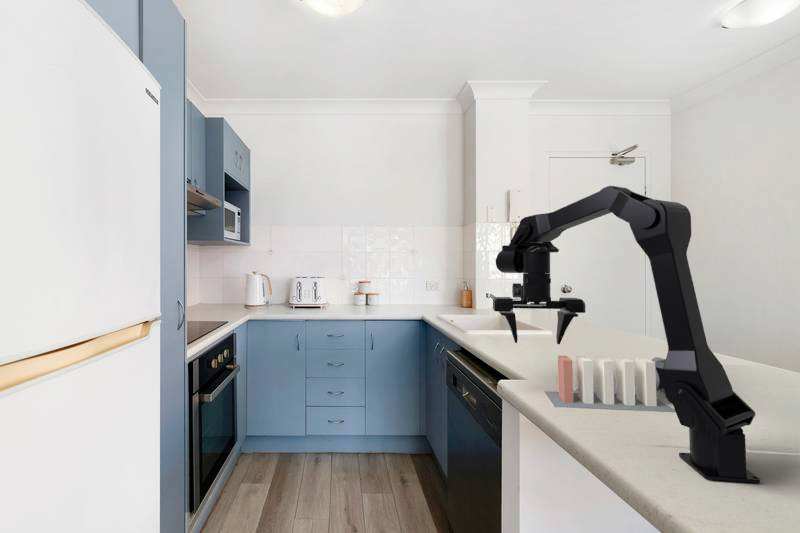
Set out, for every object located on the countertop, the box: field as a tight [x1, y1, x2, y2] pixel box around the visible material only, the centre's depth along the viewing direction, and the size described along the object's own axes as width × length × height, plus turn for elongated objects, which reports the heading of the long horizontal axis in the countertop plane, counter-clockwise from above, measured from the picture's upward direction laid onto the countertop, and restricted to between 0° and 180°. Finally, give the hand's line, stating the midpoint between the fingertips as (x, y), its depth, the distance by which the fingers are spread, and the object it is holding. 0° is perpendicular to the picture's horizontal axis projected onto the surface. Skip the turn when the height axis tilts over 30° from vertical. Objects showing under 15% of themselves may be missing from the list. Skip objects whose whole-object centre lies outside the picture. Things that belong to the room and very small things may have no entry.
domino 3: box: [595, 355, 615, 405], centre depth 77 cm, size 4×2×9 cm, turn 170°
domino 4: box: [615, 356, 636, 406], centre depth 76 cm, size 4×2×9 cm, turn 170°
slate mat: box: [543, 390, 676, 413], centre depth 77 cm, size 10×23×1 cm, turn 80°
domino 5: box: [634, 356, 657, 406], centre depth 76 cm, size 4×2×9 cm, turn 170°
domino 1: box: [557, 355, 574, 403], centre depth 78 cm, size 4×2×9 cm, turn 170°
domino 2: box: [576, 355, 594, 404], centre depth 78 cm, size 4×2×9 cm, turn 170°
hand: (536, 343), depth 80 cm, fingers open, 9 cm apart
